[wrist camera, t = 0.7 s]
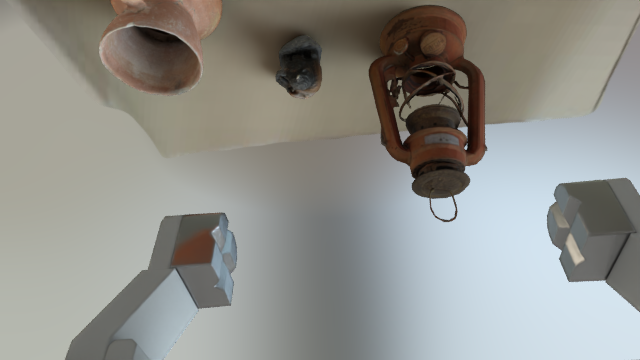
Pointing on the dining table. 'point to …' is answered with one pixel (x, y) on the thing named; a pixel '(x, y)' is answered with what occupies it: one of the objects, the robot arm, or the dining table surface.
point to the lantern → (432, 120)
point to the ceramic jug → (159, 43)
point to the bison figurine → (300, 67)
